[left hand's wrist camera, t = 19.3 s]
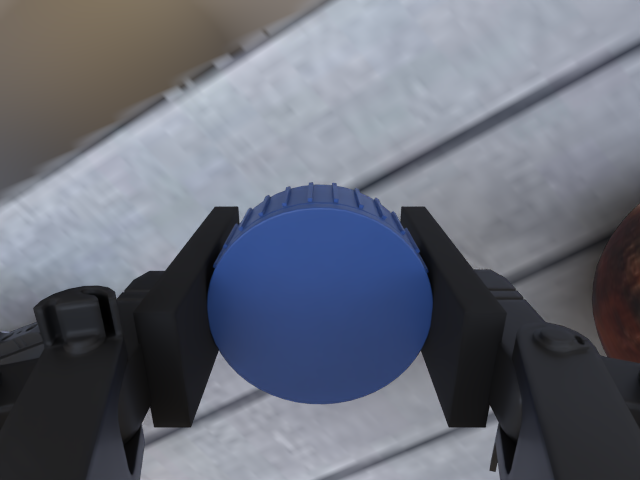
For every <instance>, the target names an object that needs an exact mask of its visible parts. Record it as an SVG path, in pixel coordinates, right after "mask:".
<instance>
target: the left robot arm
mask: <svg viewBox="0 0 640 480" xmlns="http://www.w3.org/2000/svg"><path fill="white" fill-rule="evenodd" d="M400 223H401V225H402V226H403V228H404V229H405V228H407V229H408V231H409V233H410V234H411V236H412V238H413V240H414V242H415V243H416V245H417V247H418V249H419V250H420V252H419V254H420V256H421V257H422V259H423V261H424V263H425V265H426V267H427V268H428V271H429V273H427V275H428V278H429V281H430V284H431V289H432V295H433V308H432V317H431V325H430V330H429V333H428V336H427V339H426V341H425V343H424V345H423V347H422V349H421V352H422V355H423V357H424V360H425V363H426V366H427V368H428V371H429V374H430V377H431V379H432V382H433V385H434V388H435V390H436V393H437V396H438V399H439V402H440V404H441V407H442V410H443V413H444V415H445V418H446V421H447V424H448V426H449V427H486V422H487V417H488V412H489V406H491V408H492V410H493V412H494V414H495V416H496V418H497V420H498V422H499V424H498V429H497V434H496V439H495V444H494V449H493V454H492V459H491V464H490V471H494V472H496V467H497V463H498V466H499V474H500V480H640V363H636V362H630V361H625V360H620V359H614V358H609V357H604V356H600V355H599V353H598V351H597V349H596V347H595V346H594V345H593V344H592V343H591V342H590V341H589V339H587V338H586V337H584V336H583V335H581V334H579V333H578V332H576V331H574V330H571V329H569V328H566V327H564V326H560V325H556V324H551V323H546V322H545V321H544V320H543V319H542V318H541V317H540V315H539V314H538V313H537V312H536V311H535V310H534V309H533V308H532V307H531V305H530V304H529V303H528V302H527V301H526V300H523V297H522V295H521V294H520V293H519V292H518V291H516V290H515V288H514V287H513V285H512V284H511V283H510V282H509V281H508V280H507V279H506V278H505V277H503V276H501V275H499V274H497V273H496V272H494V271H492V270H473V268H472V267H471V266H470V265H469V263H468V262H467V261H466V259H465V258H464V257H463V255H462V254H461V253H460V252H459V250H458V249H457V248H456V246H455V245H454V244H453V243H452V241H451V240H450V239H449V237H448V236H447V235H446V234H445V232H444V231H443V230H442V228H441V227H440V226H439V224H438V223H437V222H436V221H435V219H434V218H433V217H432V215H431V214H430V213H429V212H428V210H427V209H426V208H425V207H401V221H400ZM235 224H238V225H239V211H238V207H214V209H213V210H212V211H211V213H210V214H209V215H208V216H207V218H206V219H205V220H204V222H203V223H202V224H201V225H200V227H199V228H198V229H197V231H196V232H195V233H194V234H193V236H192V237H191V238H190V240H189V241H188V242H187V243H186V245H185V246H184V247H183V249H182V250H181V251H180V253H179V254H178V255H177V256H176V258H175V259H174V260H173V262H172V263H171V264H170V265H169V267H168V268H167V269H166V271H149V272H147V273H145V274H143V275H142V276H140V277H138V278H136V279H135V280H133V281H132V282H131V284H130V285H129V286H128V287H127V288H126V289H125V290H124V291H125V292H123V293H122V294H121V295H120V296H119V297H118V298H117V299H116V294H115V292H114V291H113V290H111V289H110V288H108V287H102V286H82V287H77V288H71V289H67V290H64V291H61V292H58V293H55V294H53V295H51V296H49V297H47V298H45V299H43V300H42V301H40V302H39V303H38V304H37V305H36V306H35V307H34V308H33V309H34V313H35V316H36V320H37V323H38V327H39V330H40V334H41V337H42V341H43V344H44V350H43V352H42V354H41V356H40V357H39V358H36V359H31V360H26V361H20V362H15V363H9V364H4V365H0V480H140V475H141V468H142V460H143V452H144V445H145V440H144V434H143V429H142V424H141V423H142V421H143V419H144V417H145V415H146V414H147V412H148V410H149V408H151V413H152V418H153V424H154V427H191V426H192V423H193V420H194V417H195V415H196V412H197V409H198V406H199V404H200V401H201V398H202V395H203V393H204V390H205V387H206V384H207V381H208V379H209V376H210V373H211V370H212V368H213V365H214V362H215V359H216V357H217V354H218V351H219V349H218V347H217V346H216V344H215V341H214V339H213V336H212V334H211V331H210V327H209V320H208V311H207V293H208V288H209V284H210V280H211V277H212V275H213V272H214V270H215V268H213V265H214V263H215V261H216V259H217V257H218V255H219V254H220V252H221V250H222V248H223V245H224V244H225V242H226V240H227V238H228V236H229V235H230V233H231V231H232V229H233V227H234V226H235Z"/></svg>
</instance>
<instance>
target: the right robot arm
mask: <svg viewBox="0 0 640 480" xmlns="http://www.w3.org/2000/svg"><path fill="white" fill-rule="evenodd" d="M43 350H44V344H43V341H42V337H41V334H40V330H39V327H38V323H37V322H36V323H33V324H30V325H27V326H25V327H22V328H20V329H17V330H14V331H12V332H8V331H3V332H0V365H4V364H9V363H15V362H20V361H26V360H31V359H36V358H39V357H40V356H41V354H42V352H43Z"/></svg>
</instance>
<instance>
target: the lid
mask: <svg viewBox="0 0 640 480" xmlns="http://www.w3.org/2000/svg"><path fill="white" fill-rule="evenodd" d="M419 252H420V250H419V249H418V247H417V245H416V243H415V242H414V240H413V238H412V236H411V234H410V233H409V231H408V229H407V228H405V229H404V228H403V226H402V225H401V223H400V221H399V219H398V217H397V215H396V213H395V212H394V211H393V212H392V213H390V211H388V210H387V209H386V208H385V207H383V206H382V205H381V203H380V201H379V199H377V198H375V199H374V200H373V199H372V198H370V197H368V196H366V195H364V194H362V193H360V191H359V189H357V188H355V189H354V190H351V189H348V188H344V187H339V186H337V184H336V183H332V185H313V182H312V183H309V185H308V186H301V187H296V188H292V189H291V187H290V186H289V187H286V190H285V191H283V192H280V193H278V194H276V195H274V196H272V197H270V196H269V195H268V196H266V197H265V199H264V201H263V202H262V203H260V204H259V205H258V206H256V207H255V208H254V209H253V210H252V209H251V208H249V209H248V211H247V213H246V215H245V216H244V218H243V220H242V221H241V223H240V224H239V225H238V224H235V226H234V227H233V229H232V231H231V233H230V235H229V236H228V238H227V240H226V242H225V244H224V245H223V248H222V250H221V252H220V254H219V255H218V257H217V259H216V261H215V263H214V265H213V268H215V270H214V272H213V275H212V277H211V280H210V284H209V288H208V293H207V311H208V320H209V327H210V331H211V334H212V336H213V339H214V341H215V344H216V346H217V347H218V349H219V351H220V353H221V354H222V356H223V357H224V358H225V360H226V361H227V362H228V364H229V365H230V366H231V367H232V368H233V369H234V370H235V371H236V372H237V373H238V374H239V375H240V376H241V377H243V378H244V379H245V380H246V381H248V382H249V383H251V384H252V385H254V386H255V387H257V388H259V389H260V390H262V391H264V392H267V393H269V394H271V395H273V396H276V397H279V398H282V399H285V400H290V401H294V402H299V403H307V404H333V403H341V402H346V401H351V400H354V399H358V398H361V397H364V396H366V395H369V394H371V393H373V392H376V391H377V390H379V389H381V388H383V387H385V386H386V385H388V384H389V383H391V382H392V381H393V380H395V379H396V378H398V377H399V376H400V375H401V374H402V373H403V372H404V371H405V370H406V369H407V368H408V367H409V366H410V365H411V363H412V362H413V361H414V360H415V358H416V357H417V355H418V354H419V352H420V351H421V349H422V347H423V345H424V343H425V341H426V339H427V336H428V333H429V330H430V325H431V317H432V308H433V295H432V289H431V284H430V281H429V278H428V275H427V273H429V271H428V268H427V267H426V265H425V263H424V261H423V259H422V257H421V256H420V254H419Z"/></svg>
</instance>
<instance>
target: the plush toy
mask: <svg viewBox="0 0 640 480" xmlns="http://www.w3.org/2000/svg"><path fill="white" fill-rule="evenodd" d="M592 305H593V315H594V320H595V324H596V329H597V332H598V335H599V338H600V341H601V343H602V346H603V349H604V350H605V352H606V354H607V356H608V357H609V358H614V359H620V360H625V361H630V362H636V363H640V204H639V205H637V206H636V207H635V208H634V209H633V210H632V211H631V212H630V213H629V214H628V215H627V216H626V218H625V219H624V220H623V221H622V223H621V224H620V225H619V226H618V227H617V229H616V230H615V232H614V233H613V234H612V236H611V238H610V239H609V241H608V243H607V244H606V246H605V248H604V250H603V253H602V255H601V258H600V260H599V262H598V265H597V269H596V273H595V277H594V283H593V294H592Z"/></svg>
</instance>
